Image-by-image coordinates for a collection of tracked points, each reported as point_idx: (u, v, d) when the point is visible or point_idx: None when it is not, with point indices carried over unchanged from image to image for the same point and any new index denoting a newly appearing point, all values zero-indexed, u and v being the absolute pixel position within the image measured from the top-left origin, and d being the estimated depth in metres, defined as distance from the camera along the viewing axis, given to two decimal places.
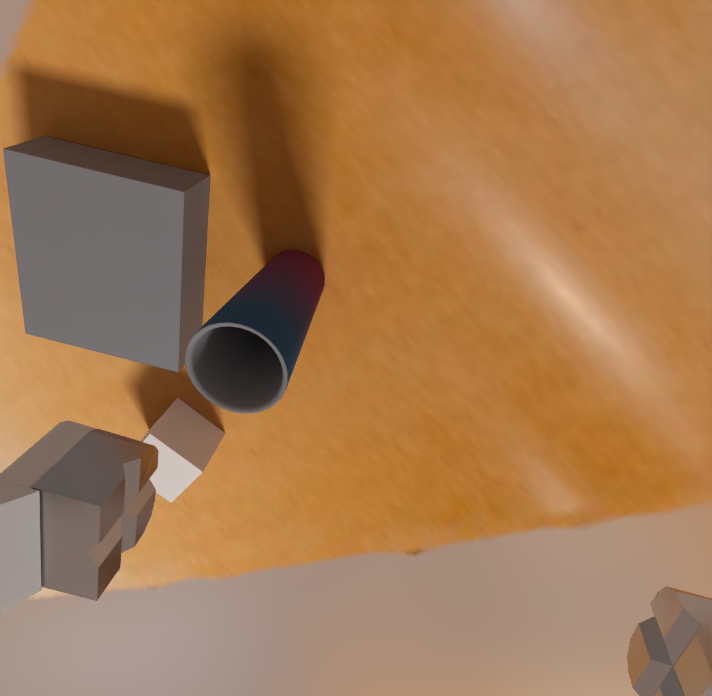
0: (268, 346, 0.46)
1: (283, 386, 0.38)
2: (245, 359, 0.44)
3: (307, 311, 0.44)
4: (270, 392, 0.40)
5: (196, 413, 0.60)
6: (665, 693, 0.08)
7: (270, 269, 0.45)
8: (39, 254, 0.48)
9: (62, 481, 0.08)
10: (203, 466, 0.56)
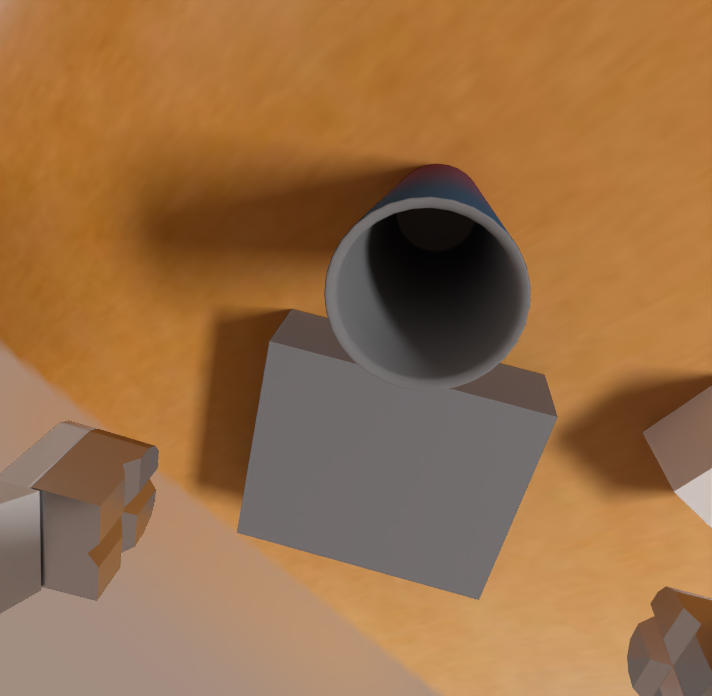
0: (490, 255, 0.27)
1: (463, 210, 0.19)
2: (485, 294, 0.25)
3: (422, 177, 0.26)
4: None
5: (677, 410, 0.36)
6: (665, 693, 0.08)
7: None
8: (363, 541, 0.37)
9: (62, 481, 0.08)
10: None
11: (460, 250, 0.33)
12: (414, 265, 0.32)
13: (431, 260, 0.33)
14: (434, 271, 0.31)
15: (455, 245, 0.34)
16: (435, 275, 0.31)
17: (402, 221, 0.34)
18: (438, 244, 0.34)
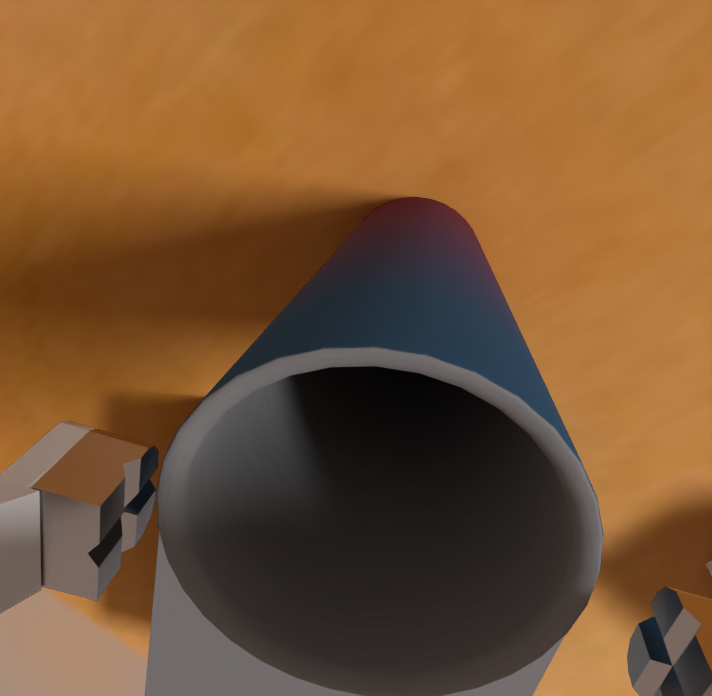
0: None
1: (451, 377, 0.08)
2: (492, 447, 0.14)
3: (381, 238, 0.15)
4: None
5: None
6: (665, 693, 0.08)
7: None
8: None
9: (62, 481, 0.08)
10: None
11: None
12: None
13: None
14: None
15: None
16: (411, 373, 0.20)
17: None
18: None
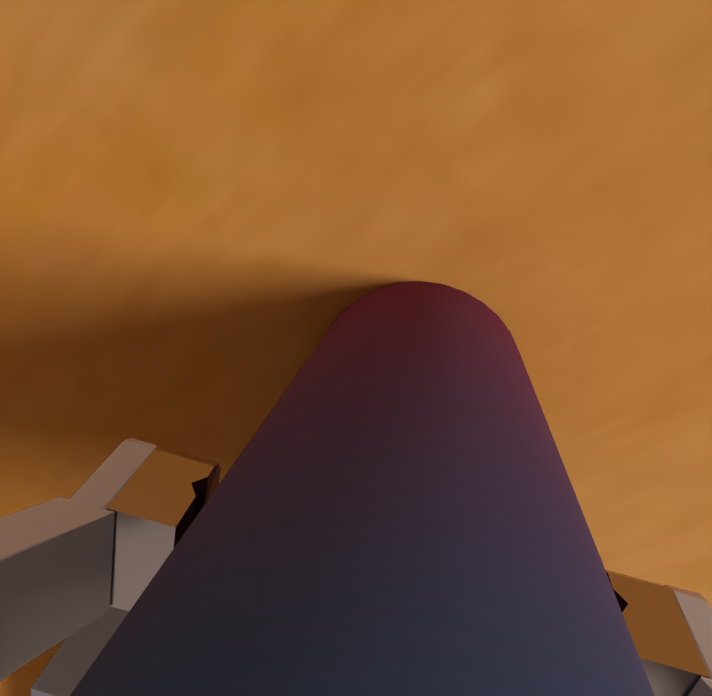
0: None
1: None
2: None
3: (343, 437, 0.07)
4: None
5: None
6: None
7: None
8: None
9: (135, 501, 0.08)
10: None
11: None
12: None
13: None
14: None
15: None
16: None
17: None
18: None
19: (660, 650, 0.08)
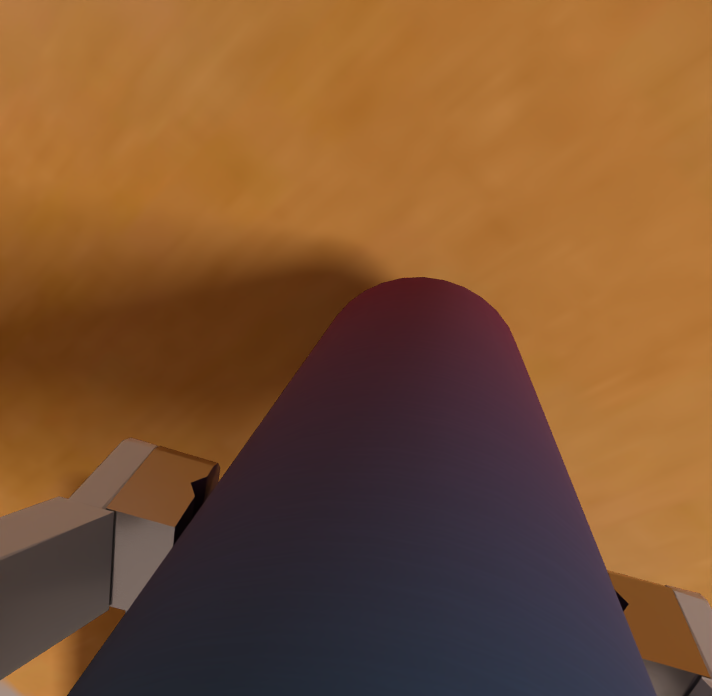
0: None
1: None
2: None
3: (348, 421, 0.07)
4: None
5: None
6: None
7: None
8: None
9: (135, 501, 0.08)
10: None
11: None
12: None
13: None
14: None
15: None
16: None
17: None
18: None
19: (661, 650, 0.08)
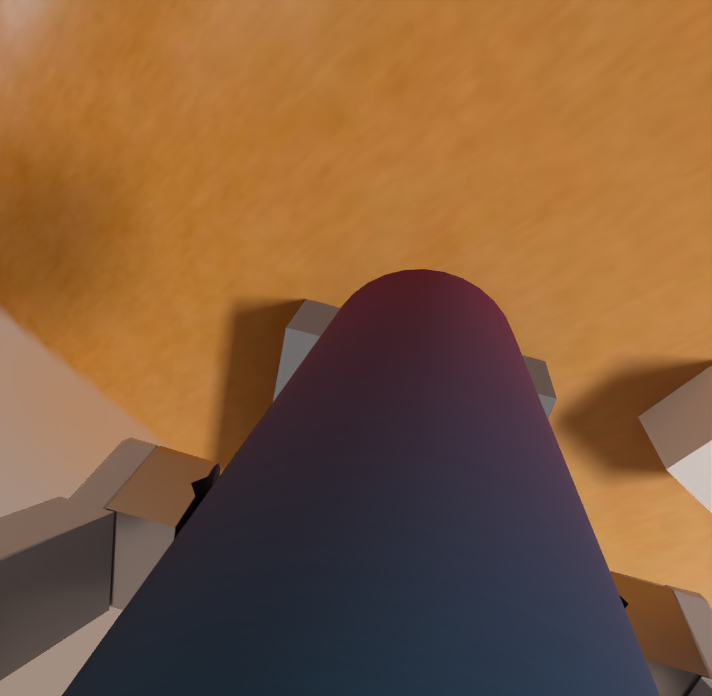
0: None
1: None
2: None
3: (356, 394, 0.08)
4: None
5: (671, 395, 0.38)
6: None
7: None
8: None
9: (134, 501, 0.08)
10: None
11: None
12: None
13: None
14: None
15: None
16: None
17: None
18: None
19: (661, 650, 0.08)
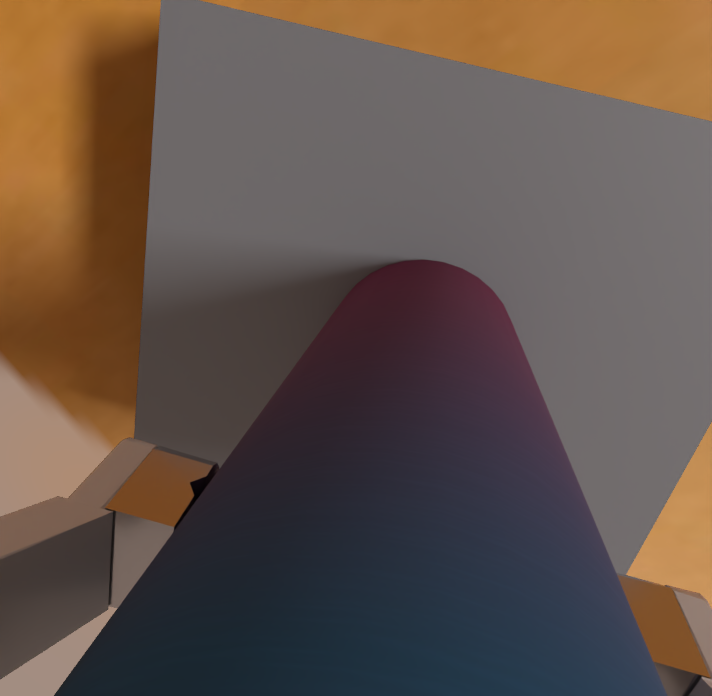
0: None
1: None
2: None
3: (360, 371, 0.09)
4: None
5: None
6: None
7: None
8: None
9: (133, 500, 0.08)
10: None
11: None
12: None
13: None
14: None
15: None
16: None
17: None
18: None
19: (661, 650, 0.08)
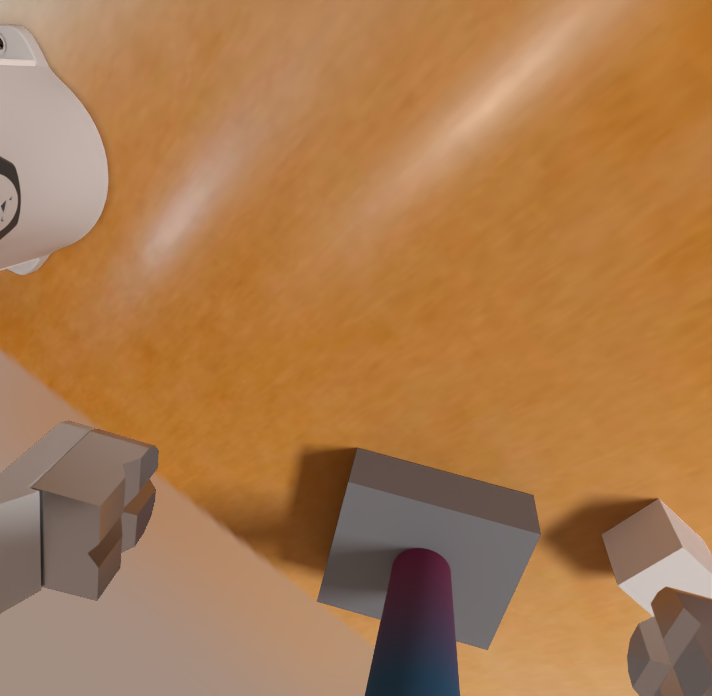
0: None
1: None
2: None
3: (409, 614, 0.44)
4: None
5: (624, 522, 0.52)
6: (665, 693, 0.08)
7: None
8: None
9: (62, 481, 0.08)
10: (678, 543, 0.46)
11: None
12: None
13: None
14: None
15: None
16: None
17: None
18: None
19: None
